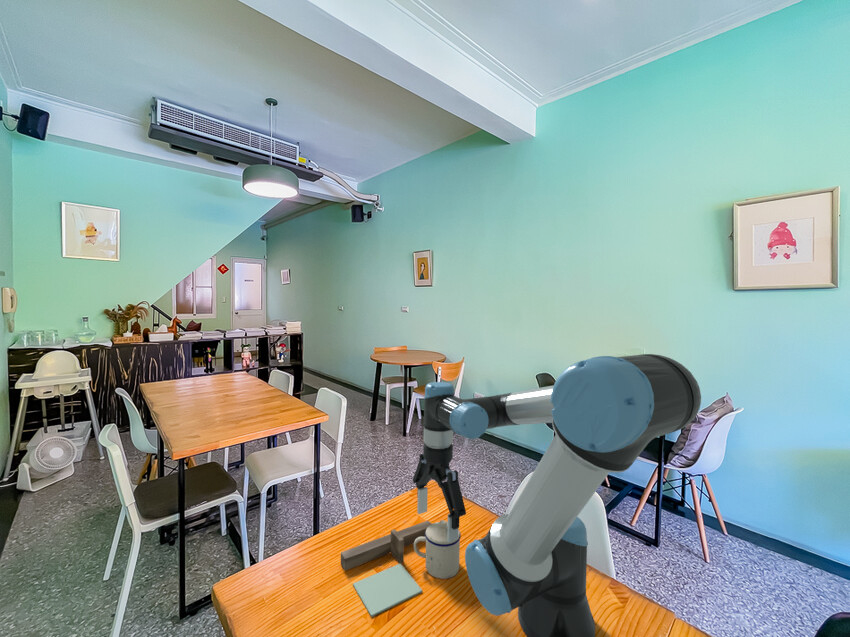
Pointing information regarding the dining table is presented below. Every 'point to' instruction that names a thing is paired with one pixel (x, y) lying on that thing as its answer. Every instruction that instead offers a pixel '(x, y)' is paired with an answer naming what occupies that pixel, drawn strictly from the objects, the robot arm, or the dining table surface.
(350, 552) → the grey long bar
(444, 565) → the teacup with lid
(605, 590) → the dining table surface
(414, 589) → the mat
